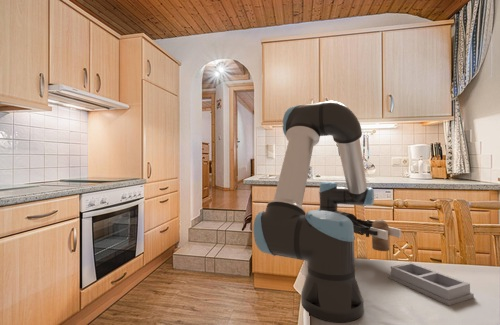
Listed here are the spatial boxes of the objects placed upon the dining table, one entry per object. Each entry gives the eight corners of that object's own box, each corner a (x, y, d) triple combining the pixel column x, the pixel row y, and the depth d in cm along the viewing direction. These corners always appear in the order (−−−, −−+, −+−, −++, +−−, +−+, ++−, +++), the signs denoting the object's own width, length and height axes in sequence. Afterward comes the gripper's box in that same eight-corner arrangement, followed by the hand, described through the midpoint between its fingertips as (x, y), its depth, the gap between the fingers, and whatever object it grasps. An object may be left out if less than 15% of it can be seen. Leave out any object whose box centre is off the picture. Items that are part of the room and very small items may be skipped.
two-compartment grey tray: (388, 277, 81) (388, 266, 81) (410, 272, 85) (410, 261, 85) (449, 305, 65) (448, 291, 65) (473, 297, 68) (473, 284, 69)
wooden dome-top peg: (375, 250, 88) (374, 220, 88) (370, 246, 93) (369, 218, 93) (391, 251, 87) (390, 221, 87) (386, 246, 92) (385, 218, 92)
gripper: (361, 228, 110) (413, 242, 88) (325, 233, 103) (372, 249, 82) (361, 210, 110) (413, 220, 89) (325, 213, 104) (372, 225, 82)
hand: (393, 234), depth 85 cm, fingers closed on wooden dome-top peg, 5 cm apart
